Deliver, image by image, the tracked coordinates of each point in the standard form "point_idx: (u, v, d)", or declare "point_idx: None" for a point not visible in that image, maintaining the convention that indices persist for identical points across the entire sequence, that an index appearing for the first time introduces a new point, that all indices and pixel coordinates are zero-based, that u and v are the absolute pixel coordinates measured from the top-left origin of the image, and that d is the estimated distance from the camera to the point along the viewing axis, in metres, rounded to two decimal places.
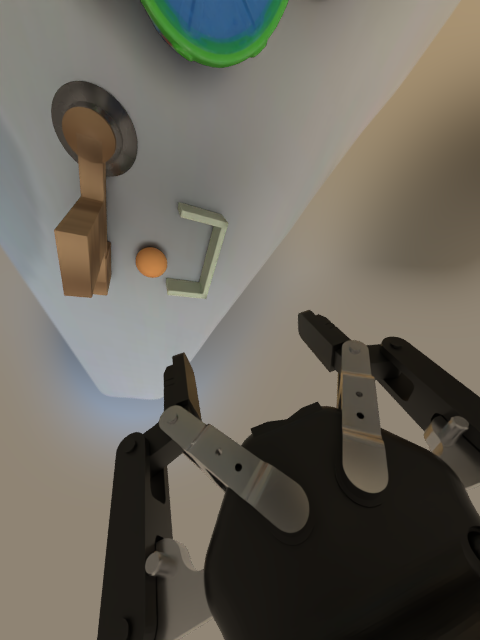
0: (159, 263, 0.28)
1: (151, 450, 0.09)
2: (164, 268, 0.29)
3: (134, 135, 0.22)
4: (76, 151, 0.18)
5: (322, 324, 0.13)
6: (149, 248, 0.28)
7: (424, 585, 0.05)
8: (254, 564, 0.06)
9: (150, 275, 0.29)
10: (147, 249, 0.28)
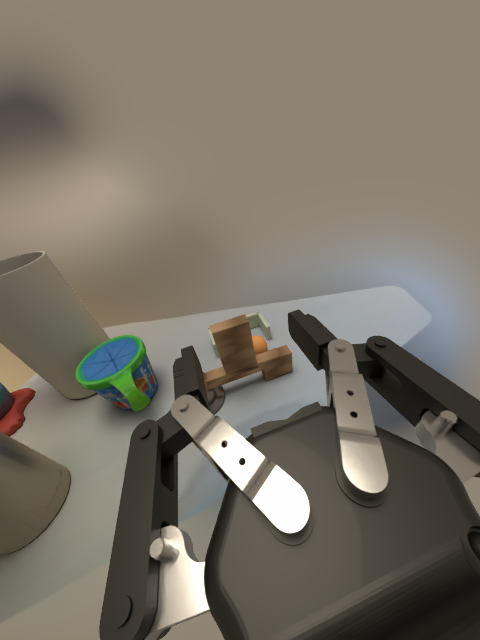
0: None
1: (163, 438, 0.10)
2: None
3: None
4: None
5: (310, 323, 0.13)
6: None
7: (424, 585, 0.05)
8: (254, 564, 0.06)
9: (260, 338, 0.41)
10: None
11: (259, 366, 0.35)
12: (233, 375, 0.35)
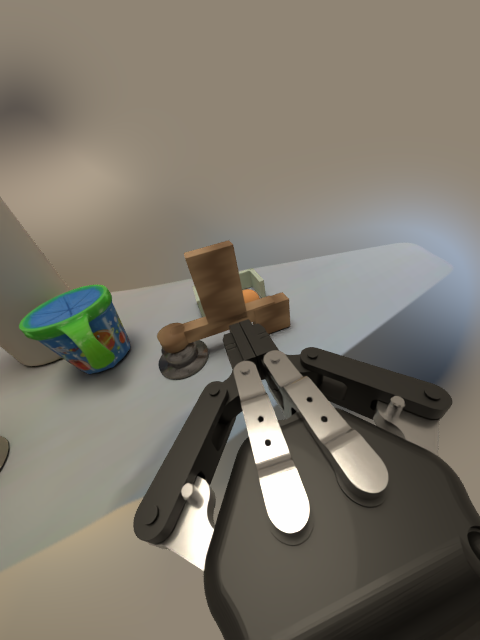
0: None
1: (226, 405, 0.10)
2: None
3: None
4: (181, 332, 0.27)
5: (255, 334, 0.13)
6: None
7: (424, 585, 0.05)
8: (254, 564, 0.06)
9: (252, 291, 0.35)
10: None
11: (249, 315, 0.29)
12: (218, 326, 0.28)
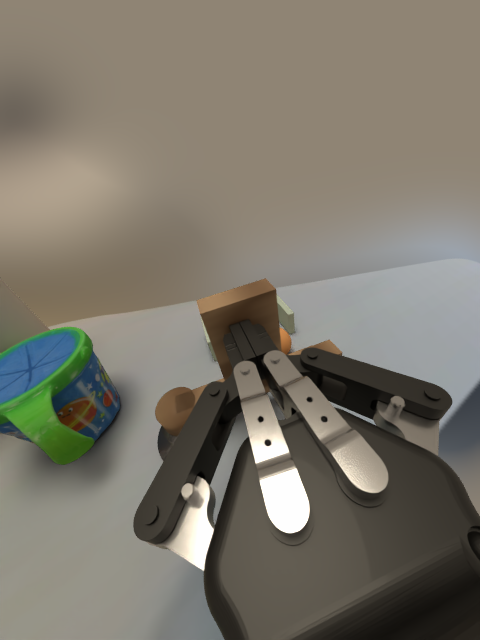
0: None
1: (226, 405, 0.10)
2: None
3: None
4: (191, 408, 0.18)
5: (255, 334, 0.13)
6: None
7: (424, 585, 0.05)
8: (254, 564, 0.06)
9: (282, 330, 0.26)
10: None
11: None
12: None
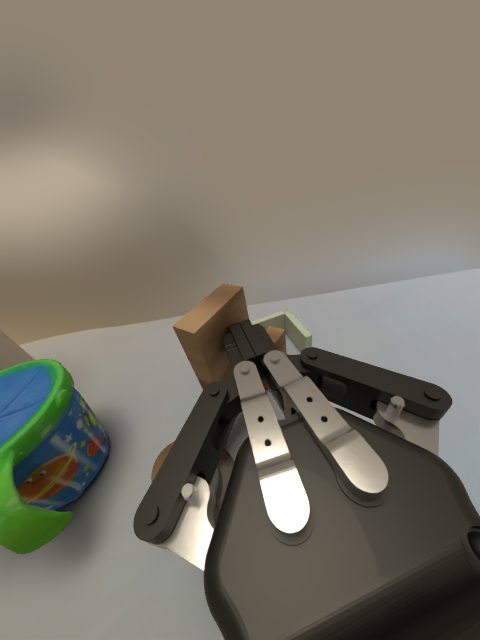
0: None
1: (226, 405, 0.10)
2: None
3: None
4: None
5: (255, 334, 0.13)
6: None
7: (424, 585, 0.05)
8: (254, 564, 0.06)
9: None
10: None
11: None
12: None
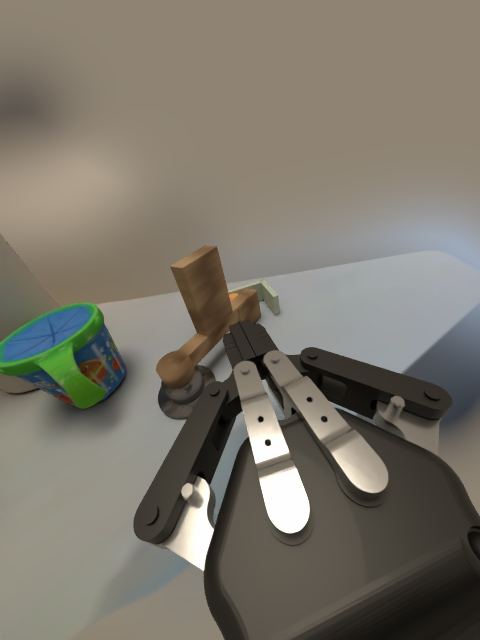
0: None
1: (226, 405, 0.10)
2: None
3: None
4: (187, 357, 0.23)
5: (255, 334, 0.13)
6: None
7: (424, 585, 0.05)
8: (254, 564, 0.06)
9: None
10: None
11: (235, 315, 0.29)
12: (215, 336, 0.27)
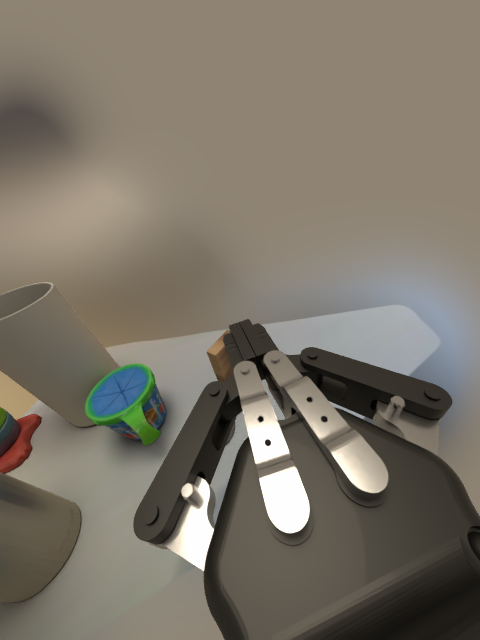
0: None
1: (226, 405, 0.10)
2: None
3: None
4: None
5: (255, 334, 0.13)
6: None
7: (424, 585, 0.05)
8: (254, 564, 0.06)
9: None
10: None
11: None
12: None
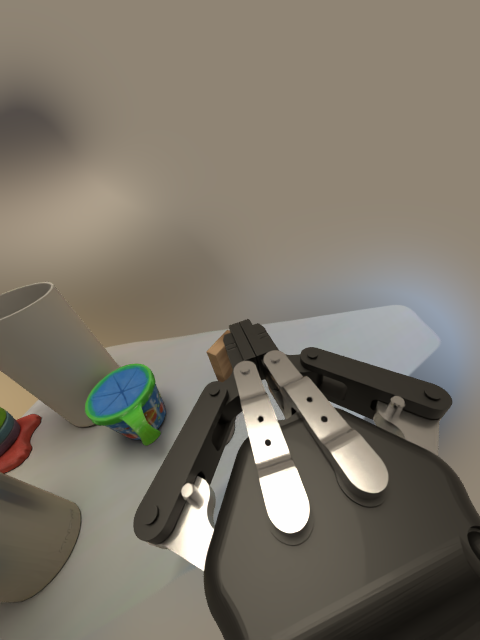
0: None
1: (226, 405, 0.10)
2: None
3: None
4: None
5: (255, 334, 0.13)
6: None
7: (424, 585, 0.05)
8: (254, 564, 0.06)
9: None
10: None
11: None
12: None
